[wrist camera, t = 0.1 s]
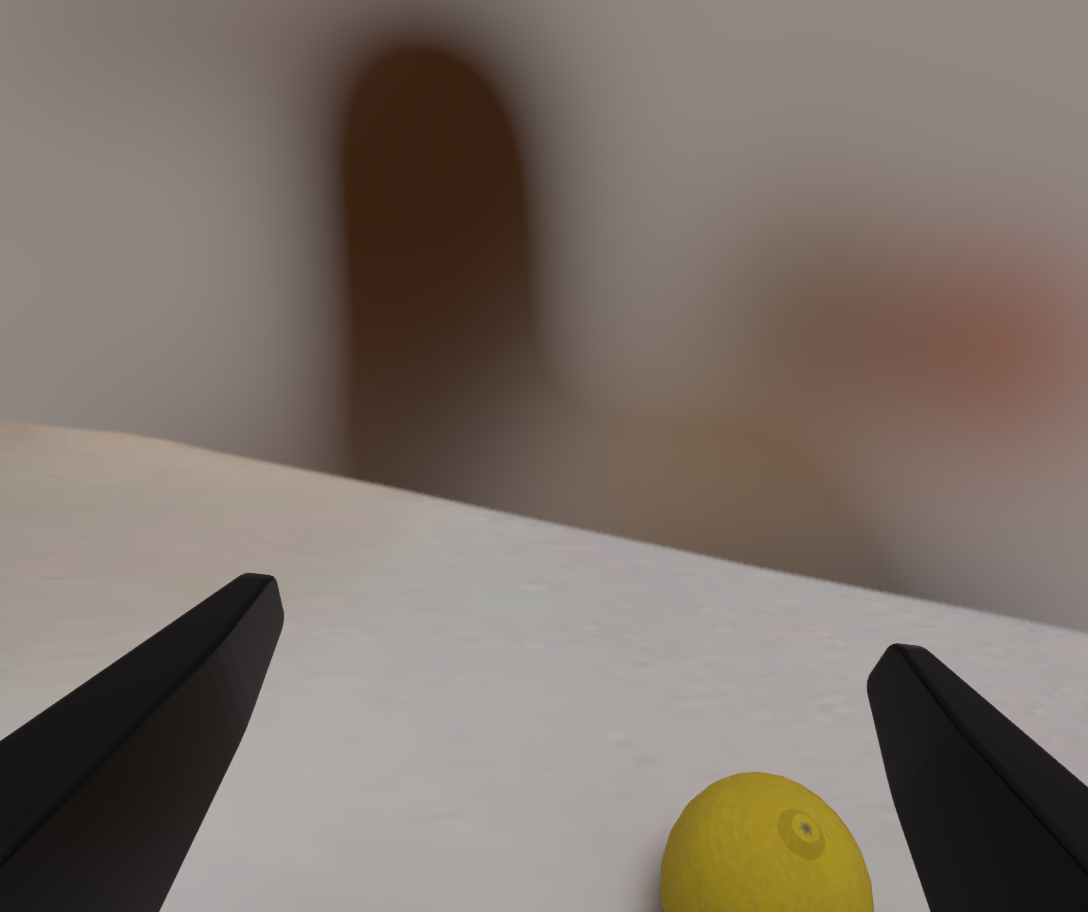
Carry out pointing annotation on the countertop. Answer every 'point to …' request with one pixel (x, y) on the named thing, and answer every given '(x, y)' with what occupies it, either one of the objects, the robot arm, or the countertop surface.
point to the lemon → (762, 852)
